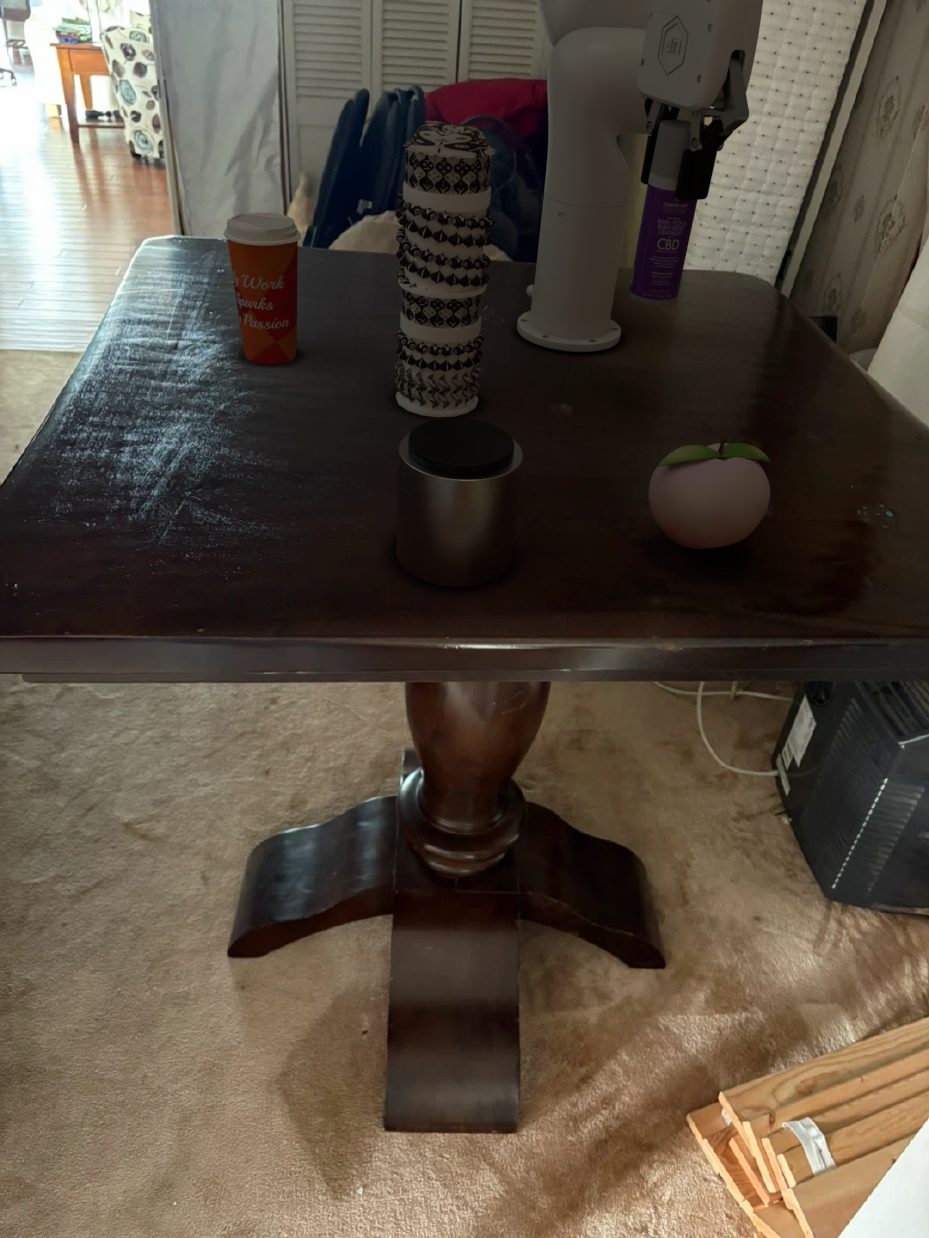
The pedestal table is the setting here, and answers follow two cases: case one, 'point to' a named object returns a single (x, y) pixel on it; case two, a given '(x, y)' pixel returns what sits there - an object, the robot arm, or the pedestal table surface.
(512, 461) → the lidded metal canister
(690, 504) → the decorative fruit
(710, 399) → the pedestal table surface
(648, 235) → the container
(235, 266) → the paper cup
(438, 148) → the decorative candle
